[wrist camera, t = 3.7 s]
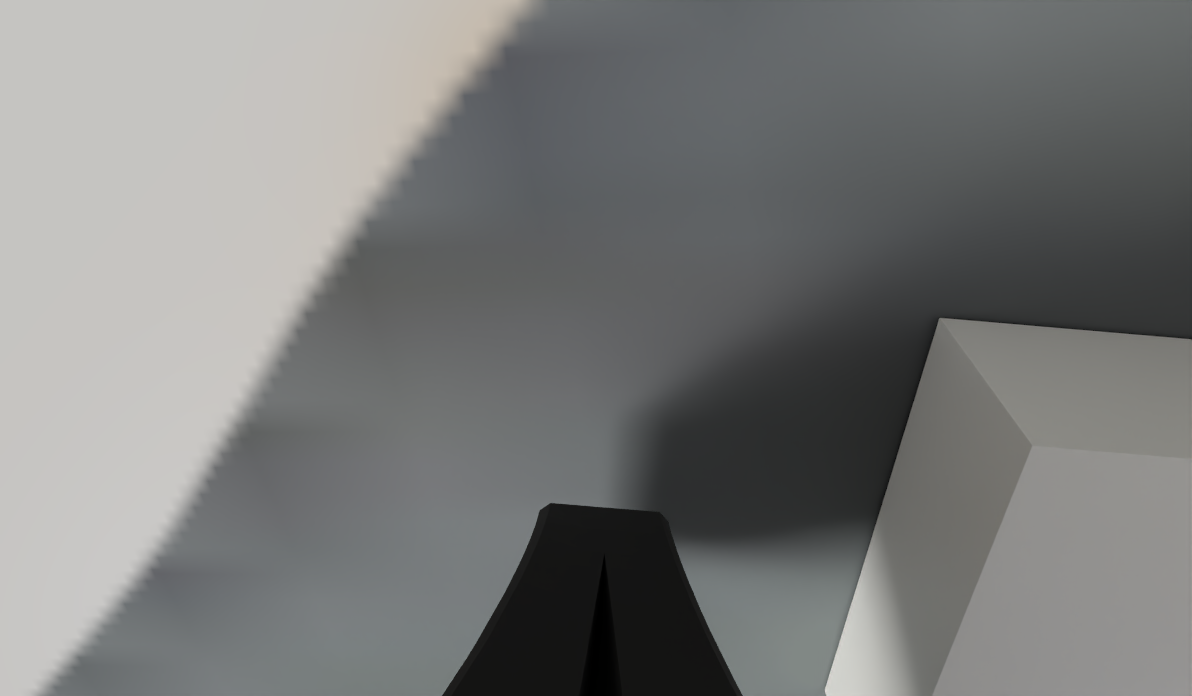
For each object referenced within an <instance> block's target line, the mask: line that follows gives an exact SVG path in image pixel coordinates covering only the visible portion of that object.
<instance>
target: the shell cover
mask: <svg viewBox="0 0 1192 696" xmlns="http://www.w3.org/2000/svg"><path fill="white" fill-rule="evenodd" d="M825 693H826V696H1192V339H1182V338H1170V337H1158V336H1147V335H1135V334H1123V333H1111V332H1100V331H1088V330H1076V329H1064V328H1053V327H1041V326H1029V325H1017V324H1006V323H994V322H982V321H970V320H959V319H947V318H939V321H938V324H937V328H936V331H935V334H934V337H933V341H932V344H931V347H930V350H929V354H928V357H927V360H926V363H925V367H924V370H923V373H922V376H921V380H920V383H919V386H918V389H917V393H916V396H915V399H914V402H913V406H912V409H911V412H910V415H909V419H908V422H907V425H906V428H905V432H904V435H903V438H902V441H901V444H900V448H899V451H898V454H897V457H896V461H895V464H894V467H893V470H892V474H891V477H890V480H889V483H888V487H887V490H886V493H885V496H884V500H883V503H882V506H881V509H880V513H879V516H878V519H877V522H876V526H875V529H874V532H873V535H872V539H871V542H870V545H869V548H868V552H867V555H866V558H865V561H864V565H863V568H862V571H861V574H860V578H859V581H858V584H857V587H856V590H855V594H854V597H853V600H852V603H851V607H850V610H849V613H848V616H847V620H846V623H845V626H844V629H843V633H842V636H841V639H840V642H839V646H838V649H837V652H836V655H835V659H834V662H833V665H832V668H831V672H830V675H829V678H828V681H827V685H826V688H825Z"/></svg>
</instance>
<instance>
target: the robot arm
mask: <svg viewBox="0 0 1192 696" xmlns="http://www.w3.org/2000/svg"><path fill="white" fill-rule="evenodd" d="M442 696H743V695H742V694H741V692H740V690H739V688H738V686H737V684H736V682H735V680H734V678H733V676H732V674H731V672H730V670H729V668H728V666H727V664H726V662H725V660H724V658H723V656H722V654H721V652H720V650H719V648H718V646H717V644H716V642H715V640H714V638H713V636H712V634H711V632H710V630H709V627H708V625H707V623H706V621H705V619H704V616H703V614H702V612H701V610H700V607H699V605H698V603H697V600H696V598H695V596H694V593H693V591H692V588H691V586H690V584H689V581H688V579H687V576H686V574H685V571H684V569H683V566H682V563H681V561H680V558H679V555H678V552H677V549H676V546H675V543H674V540H673V537H672V534H671V531H670V527H669V523H668V521H667V520H666V519H665V517H664V516H663V515H662V514H661V513H660V512H652V511H639V510H627V509H615V508H603V507H591V506H579V505H567V504H555V503H550V504H549V505H547V506H546V507H544V508H543V509H541V510H540V512H539V515H538V519H537V522H536V525H535V528H534V531H533V533H532V536H531V539H530V541H529V544H528V546H527V548H526V551H525V553H524V555H523V557H522V559H521V562H520V564H519V566H518V568H517V570H516V572H515V574H514V576H513V578H512V580H511V582H510V584H509V586H508V588H507V590H506V592H505V593H504V595H503V597H502V599H501V600H500V602H499V604H498V606H497V608H496V609H495V611H494V613H493V615H492V616H491V618H490V620H489V622H488V623H487V625H486V627H485V629H484V630H483V632H482V634H481V636H480V637H479V639H478V641H477V643H476V644H475V646H474V648H473V649H472V651H471V652H470V654H469V656H468V657H467V659H466V660H465V662H464V663H463V665H462V666H461V668H460V669H459V671H458V672H457V674H456V676H455V677H454V679H453V680H452V682H451V683H450V685H449V686H448V688H447V689H446V691H445V692H444V694H443V695H442Z"/></svg>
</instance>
